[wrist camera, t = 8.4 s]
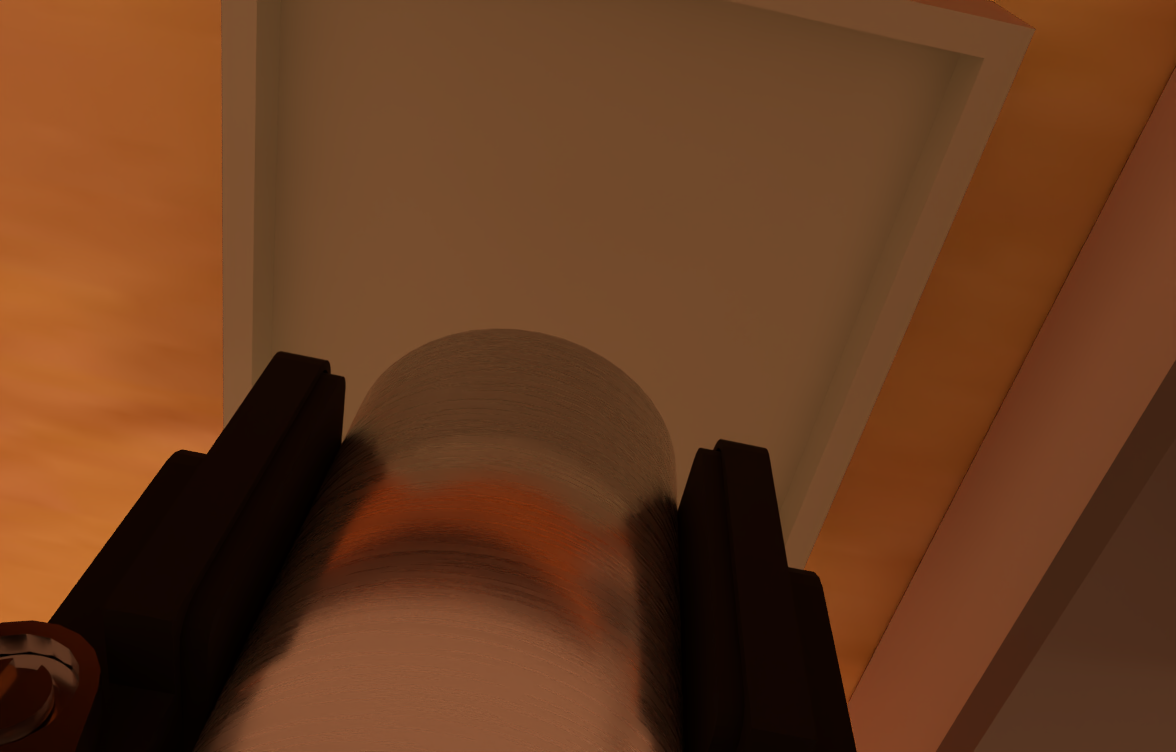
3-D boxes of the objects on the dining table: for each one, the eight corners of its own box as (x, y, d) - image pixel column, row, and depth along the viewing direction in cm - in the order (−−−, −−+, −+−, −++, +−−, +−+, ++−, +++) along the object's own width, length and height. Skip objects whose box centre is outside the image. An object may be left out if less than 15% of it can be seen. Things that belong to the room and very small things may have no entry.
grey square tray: (274, -162, 14) (220, -156, 12) (992, 1, 15) (1035, 29, 13) (261, 435, 20) (223, 495, 18) (777, 538, 20) (787, 606, 19)
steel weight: (484, 260, 10) (314, 721, 5) (745, 469, 12) (815, 1008, 6) (289, 475, 12) (16, 982, 7) (534, 636, 13) (456, 1171, 8)
